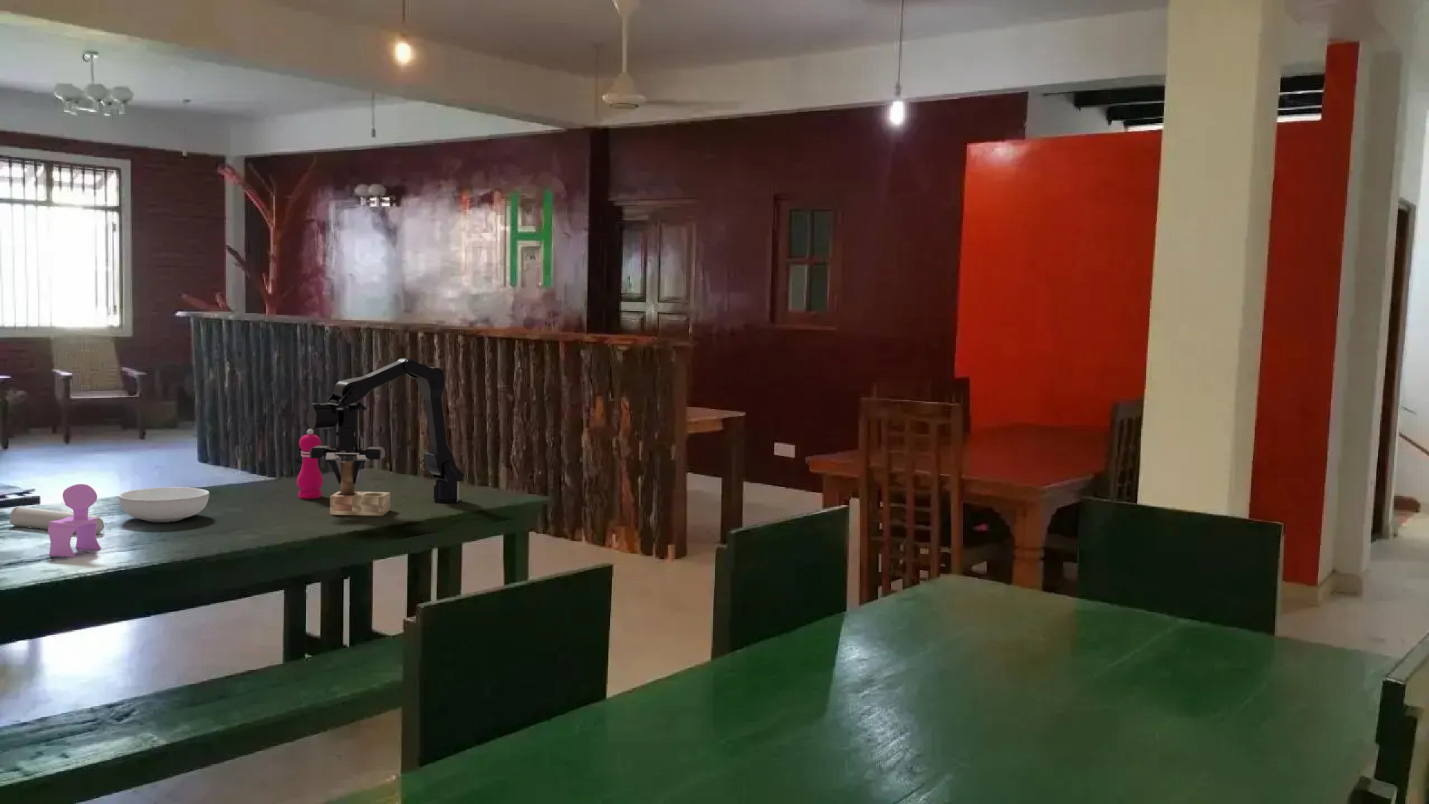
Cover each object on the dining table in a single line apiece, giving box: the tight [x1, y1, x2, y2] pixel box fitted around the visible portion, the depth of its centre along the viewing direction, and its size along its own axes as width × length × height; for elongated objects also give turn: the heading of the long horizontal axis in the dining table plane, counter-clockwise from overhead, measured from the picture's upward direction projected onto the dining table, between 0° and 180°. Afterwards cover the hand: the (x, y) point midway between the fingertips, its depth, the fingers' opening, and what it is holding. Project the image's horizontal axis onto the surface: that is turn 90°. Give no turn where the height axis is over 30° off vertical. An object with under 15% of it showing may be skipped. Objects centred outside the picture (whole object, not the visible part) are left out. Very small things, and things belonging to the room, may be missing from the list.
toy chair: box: [47, 483, 102, 558], centre depth 242 cm, size 8×9×15 cm
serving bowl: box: [118, 486, 210, 523], centre depth 281 cm, size 21×21×7 cm
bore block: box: [329, 490, 391, 517], centre depth 298 cm, size 14×8×5 cm, turn 94°
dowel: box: [340, 460, 356, 496], centre depth 297 cm, size 4×4×10 cm
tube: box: [9, 505, 105, 535], centre depth 264 cm, size 5×5×25 cm
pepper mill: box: [296, 428, 324, 500], centre depth 318 cm, size 7×7×20 cm
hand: (347, 483), depth 298 cm, fingers closed on dowel, 4 cm apart
